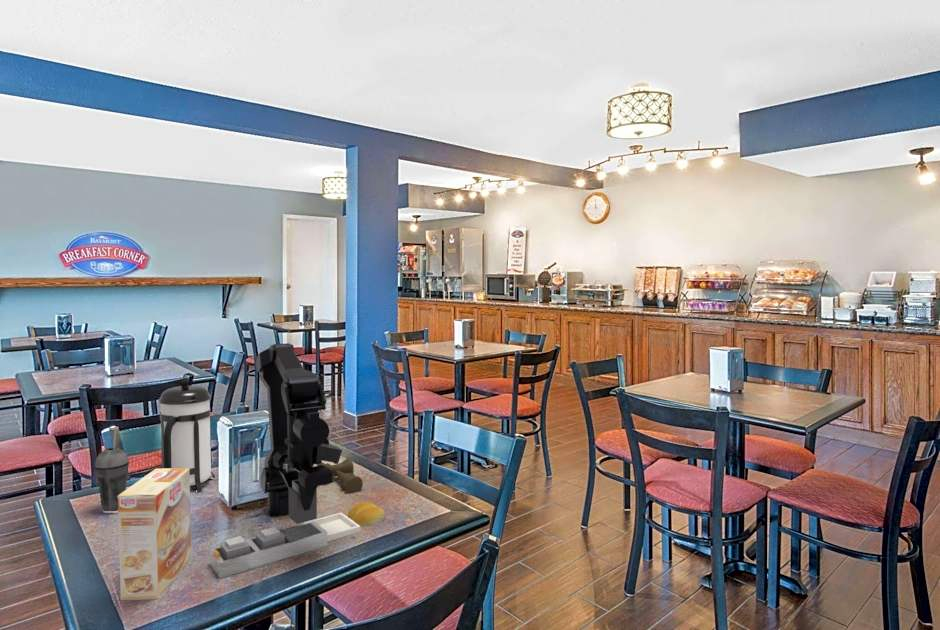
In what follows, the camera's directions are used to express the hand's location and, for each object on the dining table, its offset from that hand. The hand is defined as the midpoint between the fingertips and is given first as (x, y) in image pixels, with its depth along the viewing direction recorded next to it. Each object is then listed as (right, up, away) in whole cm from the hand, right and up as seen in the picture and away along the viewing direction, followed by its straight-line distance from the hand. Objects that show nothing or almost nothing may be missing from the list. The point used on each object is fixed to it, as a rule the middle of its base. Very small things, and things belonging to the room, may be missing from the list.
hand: (302, 506), depth 123 cm
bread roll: (+11, -9, +15) cm, 20 cm away
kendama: (-1, -7, +39) cm, 39 cm away
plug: (0, -3, 0) cm, 2 cm away
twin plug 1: (-11, -9, -8) cm, 16 cm away
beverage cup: (-52, -8, +19) cm, 56 cm away
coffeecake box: (-24, -10, -13) cm, 29 cm away
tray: (+4, -9, +8) cm, 12 cm away
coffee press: (-42, -7, +35) cm, 55 cm away
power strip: (-5, -9, -4) cm, 11 cm away
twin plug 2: (-5, -9, -4) cm, 11 cm away
